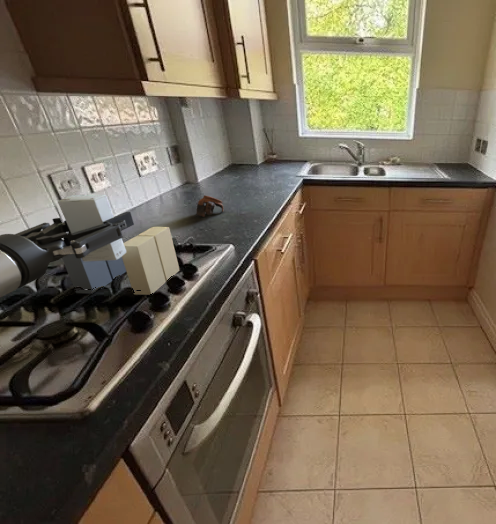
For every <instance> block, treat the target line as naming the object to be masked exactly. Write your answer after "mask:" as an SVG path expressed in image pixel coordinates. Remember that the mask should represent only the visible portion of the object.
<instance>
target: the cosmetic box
mask: <svg viewBox="0 0 496 524" xmlns="http://www.w3.org/2000/svg"><path fill="white" fill-rule="evenodd" d="M57 203H58V206H59V209H60V210H61V213H62V216H63V218H64V219H65V220H66V222H67V224H68V227H69V229H70V231H71V233H74V232H78V231H81V230H85V229H88V228H91V227H95V226H98V225H102V224H104V223H103V222H104V221H106V220H108V219H111V218H113V217H115V215H114V212H113V209H112V207H111V205H110V200H109V198H108V195H107V194H92V195H91V194H89V195H88V194H87V195H85V194H84V195H83V194H82V195H70V196H67V197H65V198H62V199H59V200H58V201H57ZM65 220H64V221H65ZM125 253H126V249H125V246H124V241H123V238H121V239H119V240H116V241H114V242H112V243H110V244H108V245H106V246H103V247H101V248H99V249H97V250H95V251H92V252H90V253H89V254H88V255H87V256H85V257H83V258H82V260H83V261H106V260H117V259H119V258H120V257H122V256H123V255H124V254H125Z"/></svg>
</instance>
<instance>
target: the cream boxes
mask: <svg viewBox="0 0 496 524" xmlns="http://www.w3.org/2000/svg"><path fill="white" fill-rule="evenodd" d="M123 243H124V246H125V249H126V253H125V254H124V255H123V256H122V259H123V262H124V265H125V268H126V275H127V278H128V280H129V283H130V286H131V289H132V288H133V289H134V290H135V291H134V292H135V293H133V295H139V296H141V295H143V296H147V295H148V296H151V295H150V294H152V293H153V294H154V293H156V291H158V290H159V289H160V288H161V287H162V286H163V285H164V284H166V282H168V281H169V280H170V279H171V278H172V277H171V276H173V275H174V276H175V275H176V274H177V273H178V272H180V266H179V262H178V258H177V253H176V250H175V245H174V242H173V236H172V233H171V228H170V226H152V227H150V228H148V229H146V230H144V231H143V232H141V233H139V234H137V235H135V236H134V237H132V238H130V239H128V240H126V241H123ZM174 276H173V277H174ZM170 277H171V278H170ZM169 278H170V279H169ZM168 279H169V280H168ZM167 280H168V281H167ZM136 290H141V291H136ZM153 294H152V295H153Z"/></svg>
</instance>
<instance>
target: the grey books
mask: <svg viewBox="0 0 496 524" xmlns="http://www.w3.org/2000/svg"><path fill="white" fill-rule="evenodd" d="M61 259H62V261H63V264H64V267H65V269H66V272H67V274H68V277H69V279H70V282H71V284H72V286H73V288H74V287H77V286H79V287H82V288H84V289H91V290H79V291H75V293H76V294H91V293H90V292H91V291H93V290H94V289H96V288H98V287H101V286H104V287H106V286H107V285H109V284H110V283H112V282H113V281H114V280H113V279H114V278H115V277H116V276H118V275H120V276H122V275H123V274H125V273H127V271H126V268H125V265H124V262H123V259H122V257H120V258H119V259H117V260H106V261H83V260H82V258H76V257H75V254H70V255H67V256H64V257H63V258H61ZM95 287H96V288H95ZM93 288H94V289H93ZM92 289H93V290H92Z"/></svg>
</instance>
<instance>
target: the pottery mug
mask: <svg viewBox="0 0 496 524" xmlns="http://www.w3.org/2000/svg"><path fill="white" fill-rule="evenodd" d="M223 204H224V202H223V201H222V200H221V199H218V198H215V197H213V196H209V195H203V197H202V198H200V199H199V200H198V202H197V204H196V215H197V216H200V217H204V218H205V217H206V215H208V216H211V215H213V213H214V209H215V207H218V208H220V209H221V213H223V212H224V205H223Z"/></svg>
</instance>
